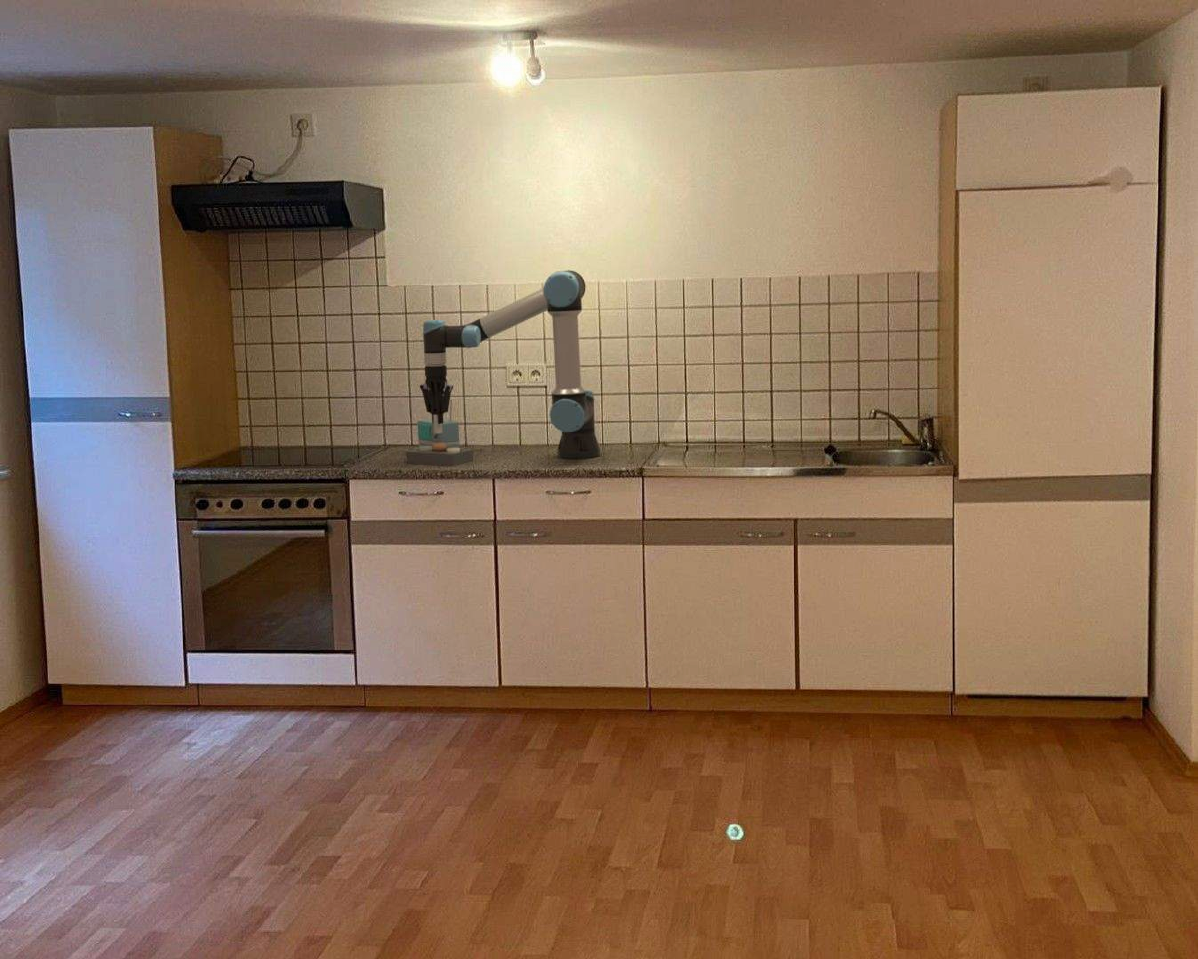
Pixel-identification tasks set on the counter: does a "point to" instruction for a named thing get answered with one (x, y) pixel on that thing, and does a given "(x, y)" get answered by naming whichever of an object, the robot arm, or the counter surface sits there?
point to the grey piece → (439, 457)
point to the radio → (447, 436)
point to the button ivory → (453, 450)
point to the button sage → (425, 448)
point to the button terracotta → (439, 446)
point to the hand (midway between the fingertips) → (438, 432)
